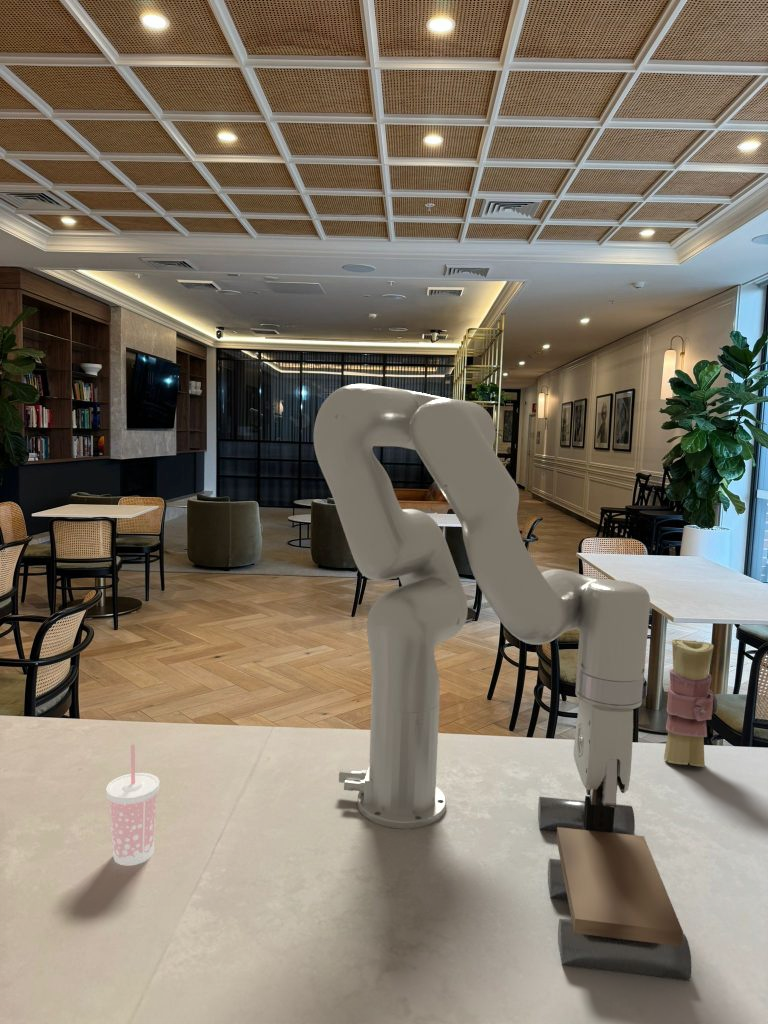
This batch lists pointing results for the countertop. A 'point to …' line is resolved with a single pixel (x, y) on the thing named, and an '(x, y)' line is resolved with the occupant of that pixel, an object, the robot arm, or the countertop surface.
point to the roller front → (556, 879)
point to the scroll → (689, 702)
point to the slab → (616, 887)
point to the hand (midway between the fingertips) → (597, 831)
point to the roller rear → (579, 815)
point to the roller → (623, 954)
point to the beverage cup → (133, 815)
